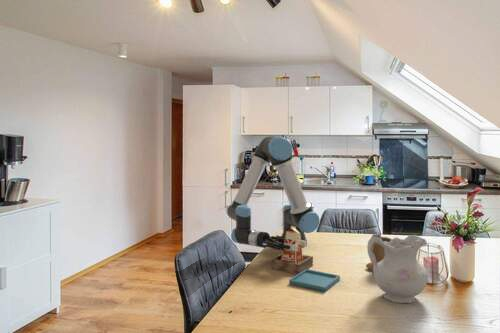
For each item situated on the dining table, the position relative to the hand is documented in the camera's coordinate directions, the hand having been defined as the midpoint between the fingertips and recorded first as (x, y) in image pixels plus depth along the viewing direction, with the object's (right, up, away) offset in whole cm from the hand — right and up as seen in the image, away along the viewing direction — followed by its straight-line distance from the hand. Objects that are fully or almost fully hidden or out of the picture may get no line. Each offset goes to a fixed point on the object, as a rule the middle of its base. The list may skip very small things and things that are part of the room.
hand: (301, 245), depth 189 cm
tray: (+4, -12, -16) cm, 20 cm away
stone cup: (+38, -11, 0) cm, 40 cm away
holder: (-4, -11, +4) cm, 12 cm away
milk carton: (-4, -11, +3) cm, 12 cm away
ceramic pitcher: (+32, -14, -32) cm, 48 cm away
